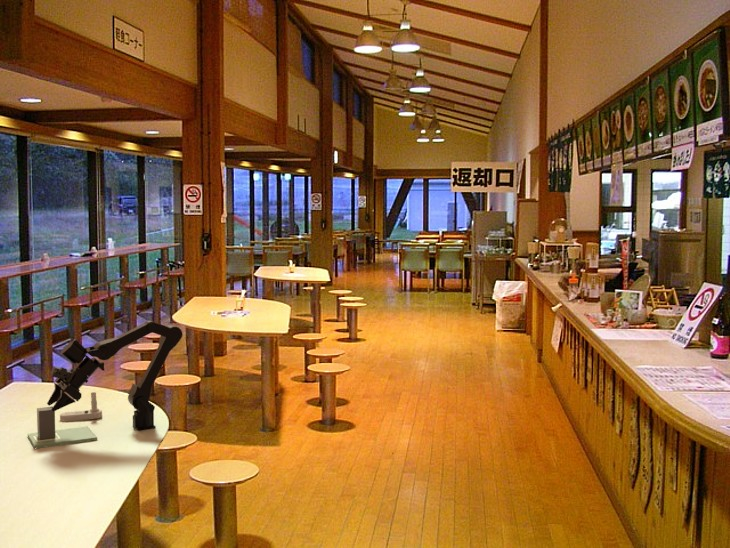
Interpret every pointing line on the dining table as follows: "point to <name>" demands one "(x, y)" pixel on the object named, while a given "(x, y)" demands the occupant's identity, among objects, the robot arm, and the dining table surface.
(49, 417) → the plug block
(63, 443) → the board
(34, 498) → the dining table surface
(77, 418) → the beige bar with post
